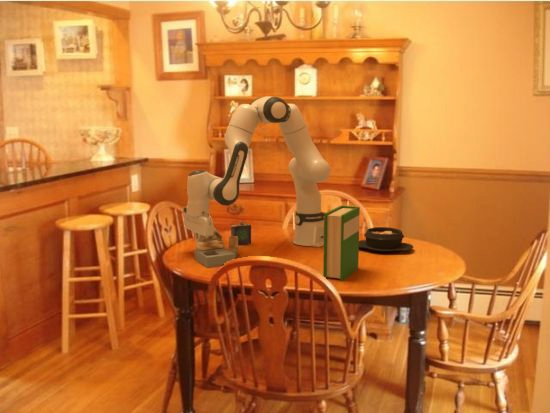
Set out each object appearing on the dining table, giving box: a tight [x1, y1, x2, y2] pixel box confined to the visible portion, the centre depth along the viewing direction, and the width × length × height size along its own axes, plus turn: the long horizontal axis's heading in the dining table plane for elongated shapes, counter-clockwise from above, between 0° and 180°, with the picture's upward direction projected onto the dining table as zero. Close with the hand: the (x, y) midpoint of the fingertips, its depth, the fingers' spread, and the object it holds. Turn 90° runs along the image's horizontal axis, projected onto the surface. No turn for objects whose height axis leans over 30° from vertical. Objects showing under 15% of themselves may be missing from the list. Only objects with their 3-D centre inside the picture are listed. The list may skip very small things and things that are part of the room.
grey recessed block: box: [193, 246, 236, 269], centre depth 231 cm, size 12×14×4 cm
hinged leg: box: [195, 239, 224, 251], centre depth 235 cm, size 11×3×3 cm, turn 118°
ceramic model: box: [203, 224, 225, 245], centre depth 256 cm, size 14×11×10 cm
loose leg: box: [228, 235, 239, 257], centre depth 239 cm, size 4×4×8 cm
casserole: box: [359, 226, 414, 254], centre depth 248 cm, size 25×19×8 cm
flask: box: [230, 220, 252, 246], centre depth 258 cm, size 9×3×11 cm, turn 109°
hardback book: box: [322, 205, 361, 282], centre depth 213 cm, size 18×7×24 cm, turn 154°
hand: (199, 243), depth 238 cm, fingers closed
